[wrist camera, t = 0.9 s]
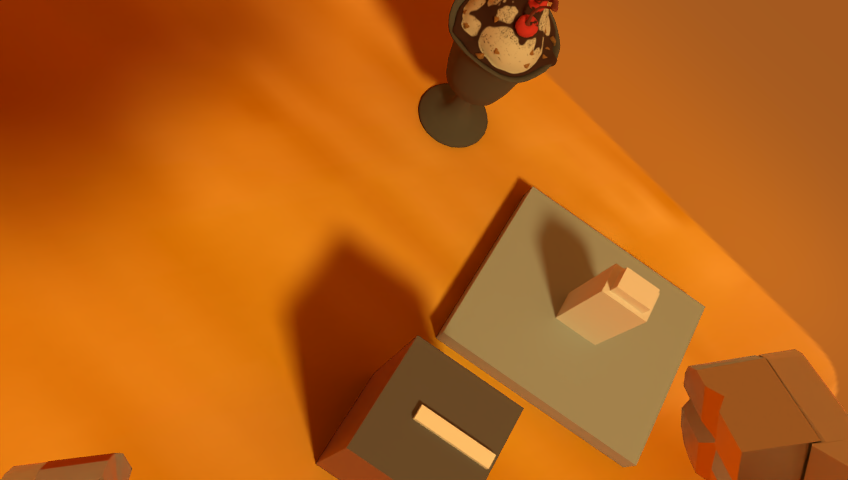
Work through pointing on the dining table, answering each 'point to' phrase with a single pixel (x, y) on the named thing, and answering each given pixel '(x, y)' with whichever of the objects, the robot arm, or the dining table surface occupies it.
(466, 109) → the sundae
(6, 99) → the dining table surface
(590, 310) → the post
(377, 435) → the slotted ballot box
